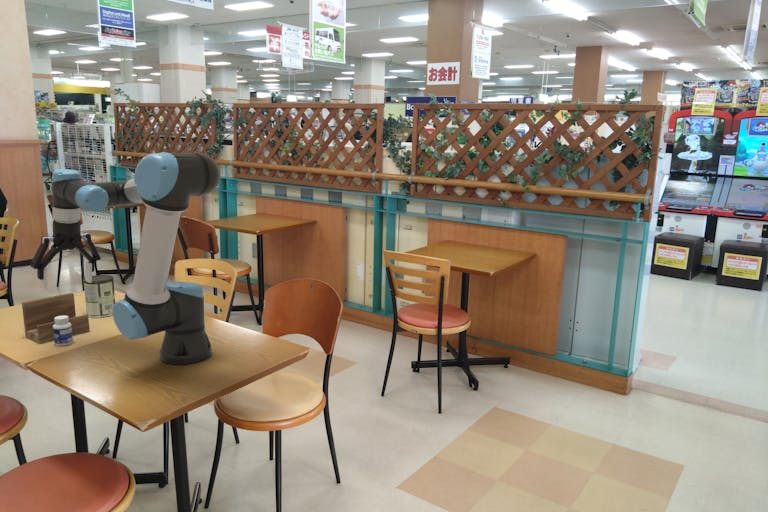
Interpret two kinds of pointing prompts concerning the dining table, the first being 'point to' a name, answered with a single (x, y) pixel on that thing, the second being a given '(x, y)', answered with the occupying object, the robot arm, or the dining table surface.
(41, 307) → the wooden display stand
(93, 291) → the coffee can
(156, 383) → the dining table surface
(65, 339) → the pill bottle
